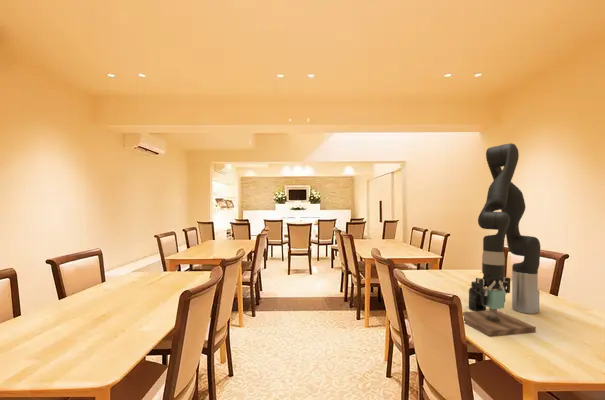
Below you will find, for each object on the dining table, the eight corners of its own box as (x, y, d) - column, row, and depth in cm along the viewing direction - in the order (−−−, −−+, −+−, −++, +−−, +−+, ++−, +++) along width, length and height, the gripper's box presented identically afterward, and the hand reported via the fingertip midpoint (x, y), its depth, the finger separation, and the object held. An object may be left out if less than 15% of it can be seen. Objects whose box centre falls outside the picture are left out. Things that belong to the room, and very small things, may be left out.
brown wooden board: (495, 314, 131) (495, 293, 131) (535, 332, 113) (535, 308, 113) (454, 317, 127) (454, 296, 127) (489, 336, 109) (489, 312, 109)
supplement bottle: (488, 312, 133) (488, 285, 133) (471, 311, 134) (471, 284, 134) (482, 307, 140) (482, 281, 140) (466, 306, 141) (466, 280, 141)
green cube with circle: (493, 303, 123) (493, 286, 123) (504, 308, 118) (504, 290, 118) (482, 304, 122) (482, 287, 122) (492, 309, 117) (492, 290, 117)
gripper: (500, 260, 125) (500, 300, 125) (470, 261, 122) (469, 302, 122) (517, 263, 118) (516, 306, 118) (485, 264, 115) (484, 308, 115)
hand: (492, 304), depth 120 cm, fingers open, 7 cm apart
